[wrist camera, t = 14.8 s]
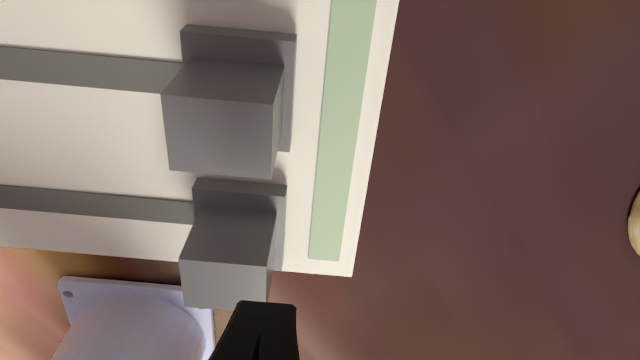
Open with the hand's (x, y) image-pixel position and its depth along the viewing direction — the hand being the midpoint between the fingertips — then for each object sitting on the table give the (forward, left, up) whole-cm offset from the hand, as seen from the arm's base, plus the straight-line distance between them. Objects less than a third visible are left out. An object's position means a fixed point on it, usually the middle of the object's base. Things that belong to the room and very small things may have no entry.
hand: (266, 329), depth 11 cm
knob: (-3, +2, -8) cm, 9 cm away
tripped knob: (+3, +2, -8) cm, 8 cm away
